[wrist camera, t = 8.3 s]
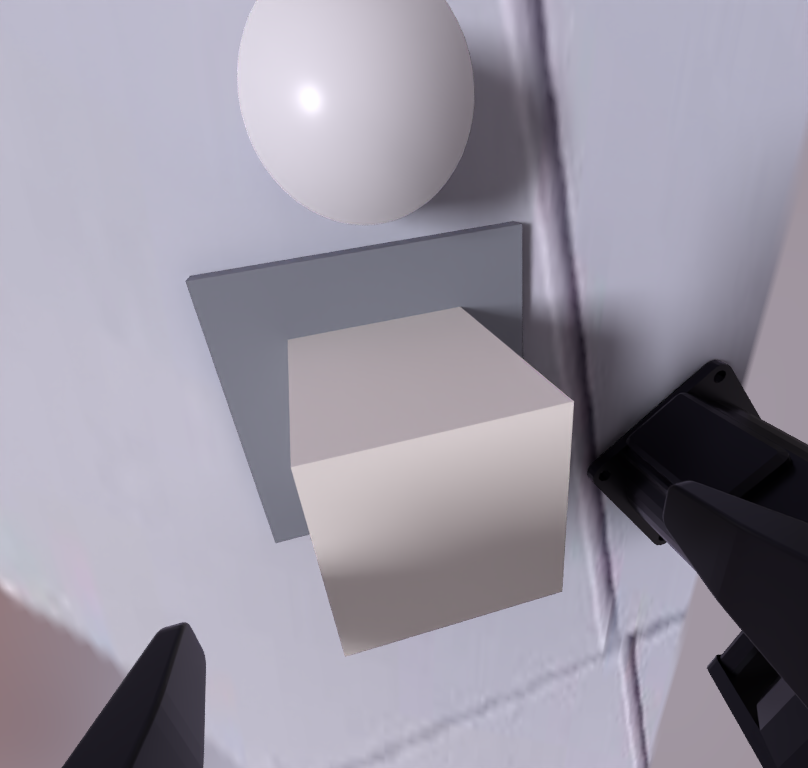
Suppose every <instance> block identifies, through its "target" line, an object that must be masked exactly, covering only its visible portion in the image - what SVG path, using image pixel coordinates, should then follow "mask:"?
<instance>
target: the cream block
mask: <svg viewBox="0 0 808 768" xmlns="http://www.w3.org/2000/svg"><path fill="white" fill-rule="evenodd" d="M288 375H289V416H290V458H291V470H292V474H293V477H294V481H295V484H296V488H297V491H298V495H299V498H300V502H301V505H302V509H303V512H304V516H305V519H306V522H307V526H308V529H309V533H310V536H311V540H312V543H313V547H314V550H315V554H316V557H317V561H318V564H319V568H320V571H321V575H322V578H323V582H324V585H325V589H326V592H327V596H328V599H329V603H330V606H331V610H332V613H333V617H334V620H335V624H336V627H337V631H338V634H339V638H340V641H341V644H342V648H343V651H344V655H345V657H346V656H350V655H353V654H356V653H360V652H363V651H366V650H370V649H373V648H376V647H379V646H383V645H386V644H389V643H393V642H396V641H399V640H403V639H406V638H409V637H413V636H416V635H419V634H423V633H426V632H429V631H433V630H436V629H439V628H443V627H446V626H449V625H453V624H456V623H459V622H463V621H466V620H469V619H473V618H476V617H479V616H482V615H486V614H489V613H492V612H496V611H499V610H502V609H506V608H509V607H512V606H516V605H519V604H522V603H526V602H529V601H532V600H536V599H539V598H542V597H546V596H549V595H552V594H556V593H559V592H562V586H563V570H564V554H565V538H566V521H567V505H568V489H569V473H570V456H571V440H572V424H573V408H574V401H573V400H572V399H570V398H569V397H568V396H567V395H566V394H564V393H563V392H562V391H561V390H560V389H558V388H557V387H556V386H555V385H554V384H552V383H551V382H550V381H549V380H548V379H546V378H545V377H544V376H543V375H542V374H540V373H539V372H538V371H537V370H536V369H534V368H533V367H532V366H531V365H530V364H528V363H527V362H526V361H525V360H524V359H522V358H521V357H520V356H519V355H518V354H516V353H515V352H514V351H513V350H512V349H510V348H509V347H508V346H507V345H506V344H504V343H503V342H502V341H501V340H500V339H498V338H497V337H496V336H495V335H494V334H492V333H491V332H490V331H489V330H488V329H486V328H485V327H484V326H483V325H482V324H480V323H479V322H478V321H477V320H476V319H474V318H473V317H472V316H471V315H470V314H468V313H467V312H466V311H465V310H464V309H462V308H461V307H456V308H451V309H446V310H441V311H435V312H430V313H425V314H420V315H414V316H409V317H404V318H399V319H394V320H388V321H383V322H378V323H373V324H367V325H362V326H357V327H352V328H346V329H341V330H336V331H331V332H326V333H320V334H315V335H310V336H305V337H299V338H294V339H289V340H288Z"/></svg>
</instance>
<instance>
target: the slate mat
mask: <svg viewBox="0 0 808 768" xmlns="http://www.w3.org/2000/svg"><path fill="white" fill-rule="evenodd" d="M186 284H187V287H188V290H189V293H190V296H191V299H192V301H193V304H194V307H195V310H196V313H197V316H198V319H199V322H200V325H201V328H202V331H203V333H204V336H205V339H206V342H207V345H208V348H209V351H210V354H211V357H212V360H213V363H214V365H215V368H216V371H217V374H218V377H219V380H220V383H221V386H222V389H223V392H224V394H225V397H226V400H227V403H228V406H229V409H230V412H231V415H232V418H233V421H234V424H235V426H236V429H237V432H238V435H239V438H240V441H241V444H242V447H243V450H244V453H245V456H246V458H247V461H248V464H249V467H250V470H251V473H252V476H253V479H254V482H255V485H256V488H257V490H258V493H259V496H260V499H261V502H262V505H263V508H264V511H265V514H266V517H267V519H268V522H269V525H270V528H271V531H272V534H273V537H274V540H275V543H278V542H282V541H286V540H290V539H293V538H297V537H301V536H305V535H309V534H310V533H309V529H308V526H307V522H306V519H305V516H304V512H303V509H302V505H301V502H300V498H299V495H298V491H297V488H296V484H295V481H294V477H293V474H292V470H291V458H290V416H289V375H288V340H289V339H294V338H299V337H305V336H310V335H315V334H320V333H326V332H331V331H336V330H341V329H346V328H352V327H357V326H362V325H367V324H373V323H378V322H383V321H388V320H394V319H399V318H404V317H409V316H414V315H420V314H425V313H430V312H435V311H441V310H446V309H451V308H456V307H461V308H462V309H464V310H465V311H466V312H467V313H468V314H470V315H471V316H472V317H473V318H474V319H476V320H477V321H478V322H479V323H480V324H482V325H483V326H484V327H485V328H486V329H488V330H489V331H490V332H491V333H492V334H494V335H495V336H496V337H497V338H498V339H500V340H501V341H502V342H503V343H504V344H506V345H507V346H508V347H509V348H510V349H512V350H513V351H514V352H515V353H516V354H518V355H519V356H520V357H521V358H522V224H520V223H517V222H507V223H501V224H495V225H489V226H483V227H477V228H471V229H465V230H459V231H454V232H448V233H442V234H436V235H430V236H424V237H418V238H412V239H406V240H400V241H394V242H388V243H383V244H377V245H371V246H365V247H359V248H353V249H347V250H341V251H335V252H329V253H323V254H318V255H312V256H306V257H300V258H294V259H288V260H282V261H276V262H270V263H264V264H258V265H252V266H247V267H241V268H235V269H229V270H223V271H217V272H211V273H205V274H199V275H193V276H190V277H189V278H188V279H187V280H186Z"/></svg>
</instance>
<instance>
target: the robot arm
mask: <svg viewBox="0 0 808 768" xmlns="http://www.w3.org/2000/svg"><path fill="white" fill-rule="evenodd" d="M601 472H602V473H601ZM587 475H588V477H589V478H590V479H591V480H592V482H593V483H594V484H595V485H596V486H597V487H598V488H599V489H600V490H601V491H602V492H603V493H604V494H605V495H606V496H607V497H608V498H609V499H610V500H611V501H612V502H613V503H614V504H615V505H616V506H617V507H618V508H619V509H620V510H621V511H622V512H623V513H624V514H625V515H626V516H627V517H628V518H629V519H630V520H631V521H632V522H633V523H634V524H635V525H636V526H637V527H638V528H639V529H640V530H641V531H642V532H643V533H644V534H645V535H646V536H647V537H648V538H649V539H650V540H651V541H652V542H653V543H654V544H656V545H662V544H665V543H666V542H667V543H668V544H669V545H670V546H671V547H672V548H673V549H674V550H675V551H676V552H677V553H678V554H679V555H680V556H681V557H682V558H683V559H684V560H685V561H686V562H687V563H688V564H689V565H690V566H691V567H692V568H693V569H694V570H695V571H696V572H697V573H698V575H699V576H700V577H701V579H702V580H703V582H704V583H705V585H706V586H707V587H708V589H709V590H710V592H711V593H712V594H713V595H714V597H715V598H716V600H717V601H718V602H719V603H720V605H721V606H722V607H723V608H724V610H725V611H726V612H727V613H728V614H729V616H730V617H731V618H732V619H733V620H734V622H735V623H736V624H737V625H738V626H739V628H741V630H742V631H741V632H740V634H739V635H738V636H737V637H736V638H735V639H734V641H733V642H732V643H731V644H730V646H729V647H728V648H727V649H726V650H725V651H724V653H723V654H722V655H716V656H715V658H714V659H713V660H712V662H711V663H710V664H709V665H708V666H707V669H708V671H709V673H710V675H711V677H712V678H713V680H714V682H715V683H716V685H717V687H718V689H719V690H720V692H721V694H722V696H723V698H724V700H725V701H726V703H727V705H728V707H729V708H730V710H731V712H732V714H733V715H734V717H735V719H736V721H737V722H738V724H739V726H740V728H741V729H742V731H743V733H744V734H745V737H746V738H747V740H748V742H749V744H750V745H751V747H752V749H753V751H754V752H755V754H756V756H757V758H758V759H759V761H760V763H761V765H762V767H763V768H808V445H807V444H806V443H804V442H802V441H800V440H798V439H796V438H795V437H793V436H791V435H789V434H787V433H785V432H783V431H782V430H780V429H778V428H776V427H774V426H772V425H771V424H769V423H767V422H765V421H763V420H761V418H760V417H759V415H758V413H757V411H756V410H755V408H754V406H753V405H752V403H751V401H750V399H749V398H748V396H747V394H746V392H745V391H744V389H743V387H742V386H741V384H740V382H739V380H738V379H737V377H736V375H735V374H734V372H733V370H732V368H731V367H730V366H729V365H728V364H725V363H723V362H721V361H719V360H713V361H710V362H709V363H707V364H706V365H705V366H703V367H702V368H701V369H700V370H699V371H698V372H697V373H695V374H694V375H693V376H692V377H691V378H690V379H689V380H687V381H686V382H685V383H684V384H683V385H682V386H681V387H679V388H678V389H677V390H676V391H675V392H674V393H672V394H671V395H670V396H669V397H668V398H667V399H666V400H664V401H663V402H662V403H661V404H660V405H659V406H658V407H656V408H655V409H654V410H653V411H652V412H651V413H649V414H648V415H647V416H646V417H645V418H644V419H643V420H641V421H640V422H639V423H638V424H637V425H636V426H635V427H633V428H632V429H631V430H630V431H629V432H628V433H626V434H625V435H624V436H623V437H622V438H621V439H620V440H618V441H617V442H616V443H615V444H614V445H613V446H612V447H610V448H609V449H608V450H607V451H606V452H605V453H603V454H602V455H601V456H600V457H599V458H598V459H597V460H595V461H594V462H593V463H592V464H591V465H590V466H589V468H588V471H587ZM205 686H206V660H205V655H204V651H203V649H202V647H201V645H200V643H199V642H198V640H197V638H196V636H195V634H194V632H193V630H192V628H191V627H190V625H189V624H188V623H186V622H184V623H183V622H182V623H179V624H175V625H172V626H168V627H165V628H162V629H161V630H160V631H159V632H157V634H156V635H155V636H154V638H153V639H152V640H151V642H150V643H149V645H148V646H147V648H146V649H145V650H144V652H143V653H142V655H141V656H140V657H139V659H138V660H137V662H136V663H135V665H134V666H133V667H132V669H131V670H130V672H129V673H128V674H127V676H126V677H125V679H124V680H123V682H122V683H121V685H120V686H119V687H118V689H117V690H116V692H115V693H114V694H113V696H112V697H111V699H110V700H109V702H108V703H107V704H106V706H105V707H104V709H103V710H102V711H101V713H100V714H99V716H98V717H97V718H96V720H95V721H94V723H93V724H92V726H91V727H90V728H89V730H88V731H87V733H86V734H85V736H84V737H83V738H82V740H81V741H80V743H79V744H78V745H77V747H76V748H75V750H74V751H73V753H72V754H71V755H70V757H69V758H68V760H67V761H66V762H65V764H64V765H63V767H62V768H203V762H204V728H205Z"/></svg>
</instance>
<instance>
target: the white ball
mask: <svg viewBox="0 0 808 768" xmlns="http://www.w3.org/2000/svg"><path fill="white" fill-rule="evenodd" d="M237 84H238V97H239V103H240V108H241V114H242V117H243V121H244V124H245V128H246V131H247V133H248V136H249V138H250V141H251V143H252V145H253V148H254V150H255V152H256V153H257V155H258V157H259V159H260V161H261V162H262V164H263V166H264V167H265V168H266V170H267V171H268V172H269V174H270V175H271V177H272V178H273V179H274V180H275V181H276V182H277V184H278V185H279V186H280V187H281V188H282V189H283V190H284V191H285V192H286V193H287V194H288V195H290V196H291V197H292V198H293V199H294V200H295V201H297V202H298V203H299V204H301V205H302V206H304V207H305V208H307V209H308V210H310V211H312V212H314V213H316V214H318V215H320V216H322V217H325V218H328V219H331V220H333V221H336V222H341V223H346V224H352V225H375V224H382V223H386V222H391V221H394V220H397V219H399V218H402V217H405V216H407V215H408V214H410V213H412V212H414V211H416V210H417V209H419V208H420V207H422V206H423V205H424V204H426V203H427V202H428V201H430V200H431V199H432V198H433V197H434V196H435V195H436V194H437V193H438V192H439V191H440V190H441V188H442V187H443V186H444V185H445V184H446V182H447V181H448V180H449V178H450V177H451V175H452V174H453V172H454V171H455V169H456V167H457V165H458V163H459V161H460V159H461V157H462V155H463V152H464V150H465V147H466V144H467V141H468V138H469V134H470V130H471V125H472V119H473V112H474V91H475V89H474V77H473V69H472V64H471V58H470V53H469V50H468V47H467V44H466V40H465V37H464V35H463V32H462V30H461V28H460V25H459V23H458V21H457V19H456V17H455V15H454V13H453V12H452V10H451V8H450V6H449V5H448V3H447V2H446V0H256V2H255V4H254V6H253V8H252V10H251V12H250V14H249V16H248V19H247V22H246V25H245V28H244V31H243V34H242V38H241V43H240V48H239V54H238V66H237Z"/></svg>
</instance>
